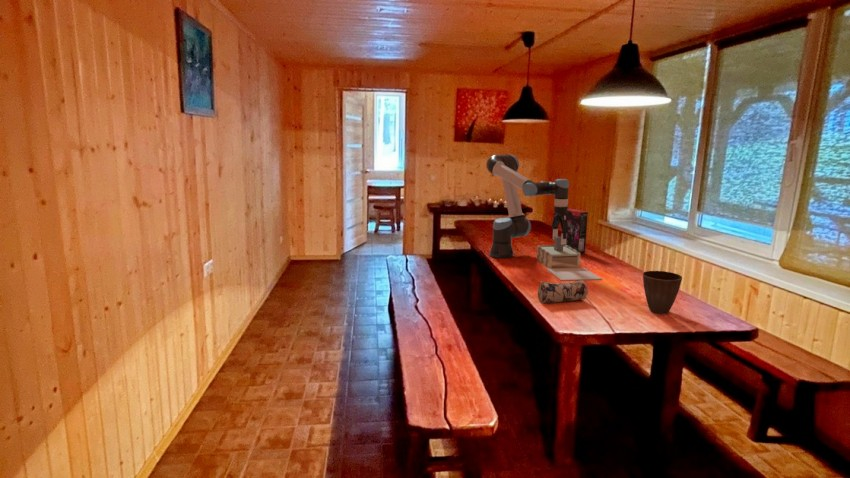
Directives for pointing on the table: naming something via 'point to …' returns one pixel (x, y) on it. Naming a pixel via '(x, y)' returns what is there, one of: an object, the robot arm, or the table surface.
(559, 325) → the table surface
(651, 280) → the plant pot
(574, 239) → the graphics card box
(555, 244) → the sliding lid
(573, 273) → the grey tray
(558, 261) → the wooden box
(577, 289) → the pencil case
